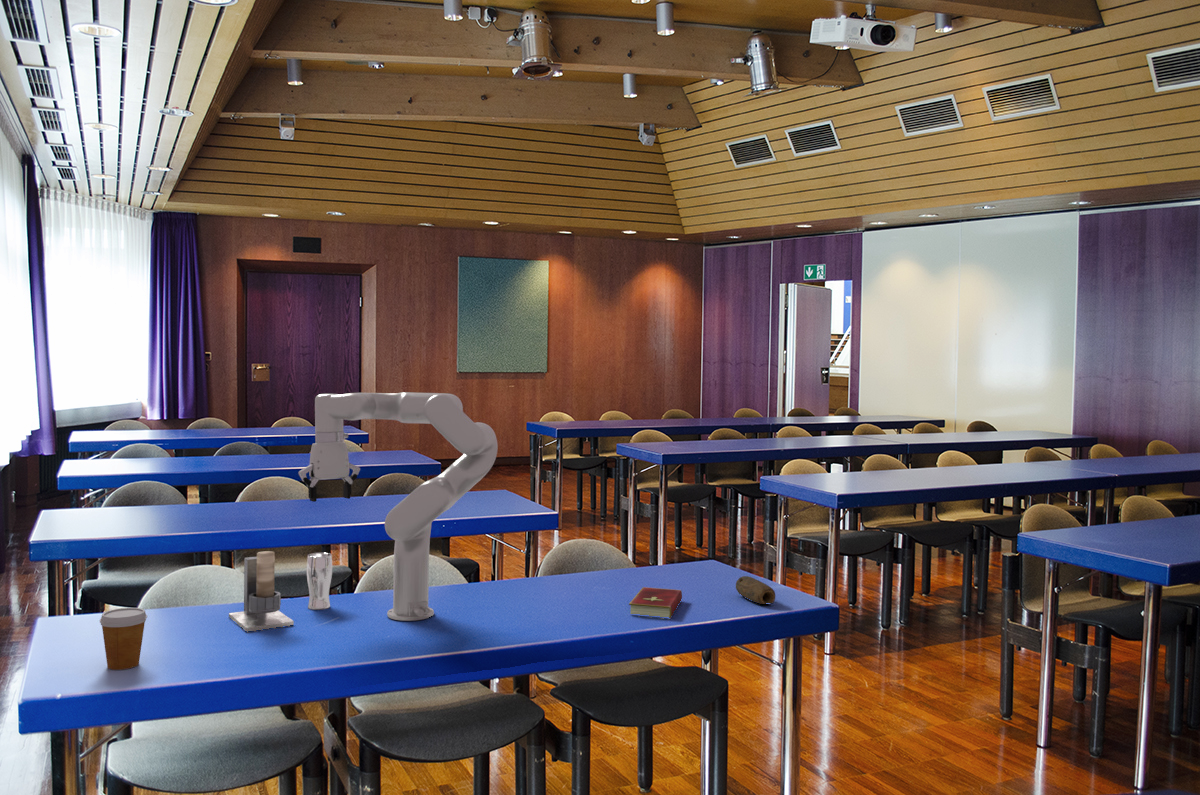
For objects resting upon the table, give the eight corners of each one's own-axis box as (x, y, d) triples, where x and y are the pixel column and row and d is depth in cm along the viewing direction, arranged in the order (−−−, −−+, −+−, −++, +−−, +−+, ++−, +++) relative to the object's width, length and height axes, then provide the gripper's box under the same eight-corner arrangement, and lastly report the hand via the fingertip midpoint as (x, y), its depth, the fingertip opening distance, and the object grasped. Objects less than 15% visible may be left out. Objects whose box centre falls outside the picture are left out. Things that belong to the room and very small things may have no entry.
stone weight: (731, 597, 280) (731, 575, 279) (749, 595, 283) (750, 573, 282) (759, 608, 266) (760, 585, 266) (779, 606, 269) (779, 584, 269)
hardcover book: (681, 603, 272) (682, 589, 272) (670, 621, 252) (671, 606, 252) (642, 600, 275) (643, 586, 275) (628, 617, 255) (629, 602, 254)
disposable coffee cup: (122, 657, 210) (123, 605, 209) (156, 661, 207) (156, 609, 207) (88, 669, 200) (89, 615, 200) (123, 674, 198) (123, 619, 197)
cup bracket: (293, 625, 238) (294, 564, 238) (246, 632, 231) (247, 569, 231) (273, 611, 252) (274, 553, 252) (228, 617, 245) (229, 558, 244)
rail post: (276, 606, 238) (276, 553, 238) (259, 608, 236) (259, 555, 235) (271, 602, 242) (271, 550, 241) (254, 605, 239) (254, 552, 239)
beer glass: (335, 604, 261) (336, 552, 260) (325, 610, 254) (326, 557, 253) (312, 603, 261) (312, 552, 261) (302, 609, 254) (302, 556, 254)
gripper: (353, 436, 260) (354, 495, 260) (293, 439, 249) (294, 501, 249) (364, 437, 254) (365, 498, 254) (303, 440, 243) (304, 503, 243)
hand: (330, 499), depth 252 cm, fingers open, 9 cm apart
